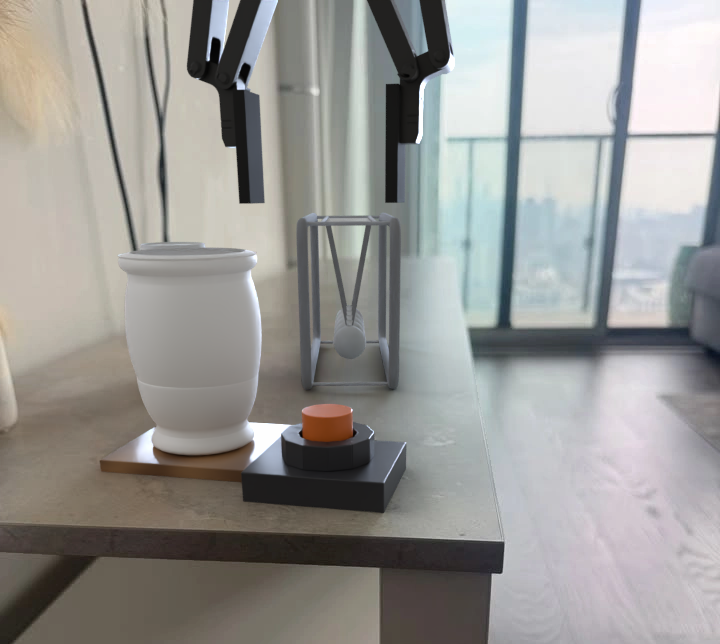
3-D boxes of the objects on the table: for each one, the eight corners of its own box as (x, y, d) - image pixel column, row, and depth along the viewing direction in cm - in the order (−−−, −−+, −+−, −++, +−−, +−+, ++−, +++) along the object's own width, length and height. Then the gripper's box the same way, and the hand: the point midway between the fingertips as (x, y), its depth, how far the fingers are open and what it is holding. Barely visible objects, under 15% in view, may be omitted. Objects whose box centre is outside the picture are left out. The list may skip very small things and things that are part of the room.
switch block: (242, 502, 52) (238, 447, 51) (283, 460, 60) (281, 412, 59) (383, 513, 50) (384, 457, 48) (406, 468, 58) (407, 419, 57)
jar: (270, 458, 58) (260, 254, 52) (131, 466, 56) (106, 257, 51) (264, 420, 67) (254, 245, 62) (145, 426, 66) (125, 248, 61)
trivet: (100, 471, 58) (98, 459, 58) (170, 428, 69) (169, 417, 68) (246, 483, 55) (246, 470, 55) (295, 435, 66) (295, 424, 66)
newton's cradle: (313, 343, 108) (309, 212, 102) (385, 342, 108) (386, 212, 102) (301, 394, 80) (295, 218, 74) (399, 393, 80) (401, 218, 74)
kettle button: (296, 443, 52) (295, 415, 52) (310, 429, 56) (309, 402, 55) (346, 447, 52) (345, 418, 51) (357, 432, 55) (357, 404, 54)
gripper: (92, -258, 39) (140, 204, 47) (514, -321, 34) (487, 202, 42) (159, -190, 46) (191, 203, 54) (519, -236, 41) (495, 201, 49)
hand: (322, 202), depth 48 cm, fingers open, 9 cm apart
